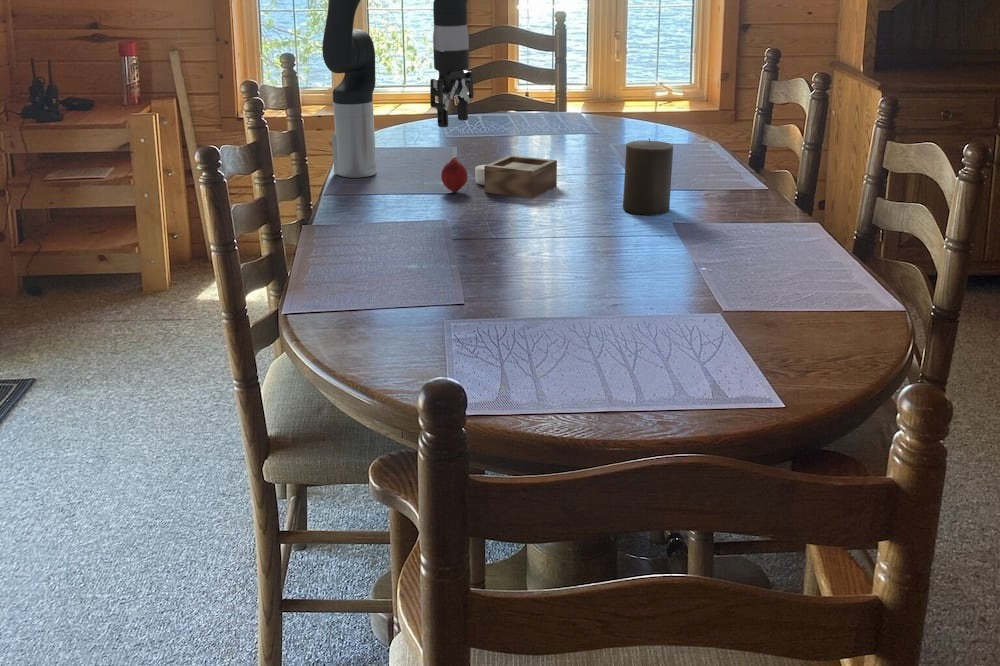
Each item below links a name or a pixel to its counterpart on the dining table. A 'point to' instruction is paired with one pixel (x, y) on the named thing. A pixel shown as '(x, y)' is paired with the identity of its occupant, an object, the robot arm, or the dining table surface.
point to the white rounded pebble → (480, 174)
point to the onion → (454, 175)
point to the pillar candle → (647, 177)
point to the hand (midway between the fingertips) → (453, 123)
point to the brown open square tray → (520, 176)
